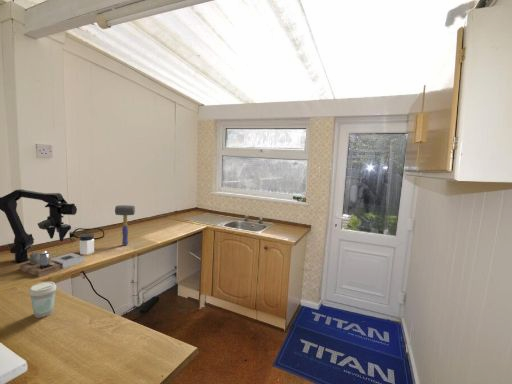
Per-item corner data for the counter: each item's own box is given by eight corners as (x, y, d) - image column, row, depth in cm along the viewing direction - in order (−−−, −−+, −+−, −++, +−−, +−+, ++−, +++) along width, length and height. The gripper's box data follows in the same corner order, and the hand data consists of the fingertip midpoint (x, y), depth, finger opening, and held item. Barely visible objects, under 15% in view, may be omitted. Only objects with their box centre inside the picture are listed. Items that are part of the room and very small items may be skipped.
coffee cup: (26, 321, 97) (24, 292, 96) (35, 309, 105) (33, 282, 104) (53, 317, 101) (52, 289, 100) (60, 306, 109) (59, 279, 107)
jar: (97, 250, 173) (97, 233, 171) (90, 254, 165) (90, 237, 163) (83, 250, 172) (83, 233, 170) (76, 254, 164) (75, 236, 162)
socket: (49, 264, 148) (49, 259, 147) (71, 257, 159) (71, 252, 159) (62, 268, 143) (62, 263, 143) (84, 261, 154) (83, 256, 154)
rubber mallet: (114, 246, 181) (114, 206, 178) (117, 243, 188) (117, 204, 185) (133, 246, 185) (133, 206, 181) (135, 243, 192) (135, 204, 188)
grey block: (38, 272, 137) (37, 251, 136) (46, 269, 141) (46, 249, 140) (43, 273, 136) (42, 253, 134) (51, 271, 139) (50, 251, 138)
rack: (19, 269, 139) (18, 253, 138) (40, 263, 148) (40, 248, 147) (39, 277, 132) (38, 260, 131) (60, 270, 141) (59, 254, 140)
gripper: (30, 214, 146) (31, 240, 148) (50, 219, 139) (51, 246, 141) (51, 211, 156) (52, 235, 158) (71, 215, 149) (71, 241, 151)
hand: (56, 239), depth 152 cm, fingers open, 9 cm apart
